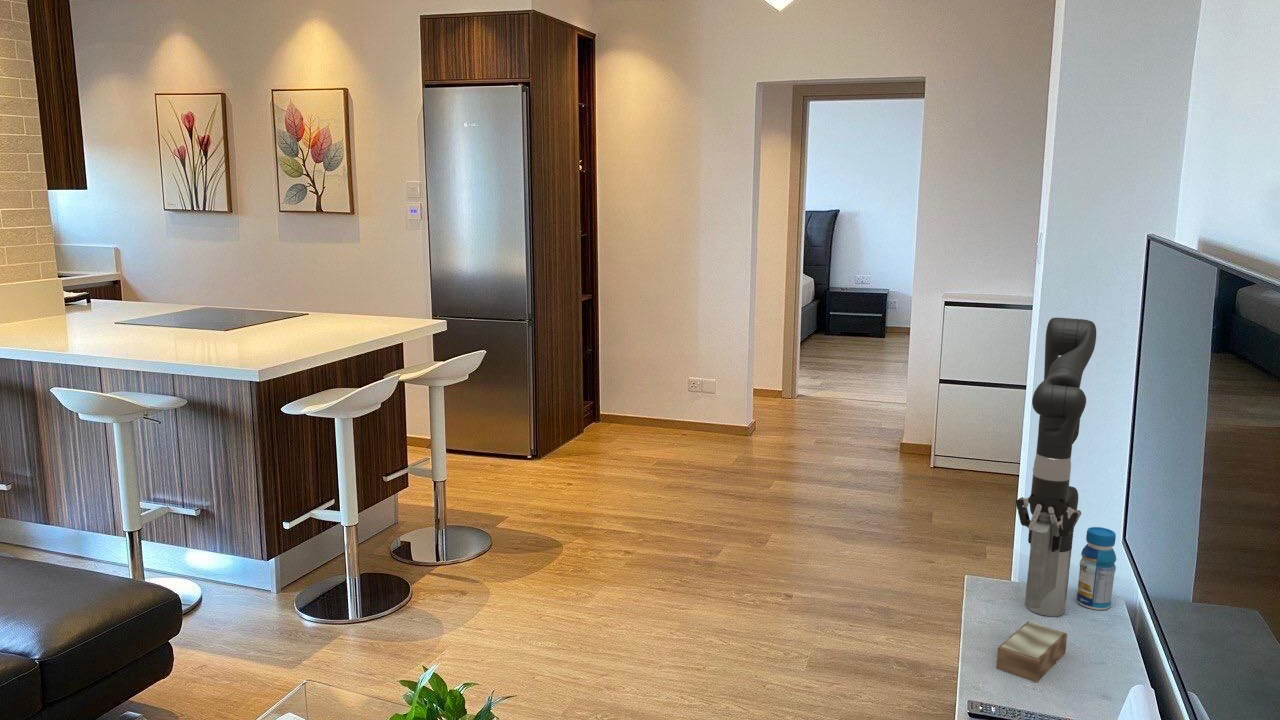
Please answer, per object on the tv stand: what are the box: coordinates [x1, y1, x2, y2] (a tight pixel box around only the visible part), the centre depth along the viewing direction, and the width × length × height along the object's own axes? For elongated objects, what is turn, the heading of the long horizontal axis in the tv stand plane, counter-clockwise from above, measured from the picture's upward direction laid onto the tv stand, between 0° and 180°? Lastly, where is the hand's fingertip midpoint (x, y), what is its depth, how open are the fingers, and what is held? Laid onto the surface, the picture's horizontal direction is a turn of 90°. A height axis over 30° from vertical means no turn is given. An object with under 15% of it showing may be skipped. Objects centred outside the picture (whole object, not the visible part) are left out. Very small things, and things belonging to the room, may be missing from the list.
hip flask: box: [1024, 511, 1063, 608], centre depth 214 cm, size 16×4×20 cm, turn 143°
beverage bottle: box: [1076, 526, 1117, 611], centre depth 247 cm, size 8×8×20 cm
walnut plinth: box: [995, 620, 1068, 683], centre depth 218 cm, size 18×9×5 cm, turn 138°
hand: (1043, 547), depth 214 cm, fingers closed on hip flask, 4 cm apart
